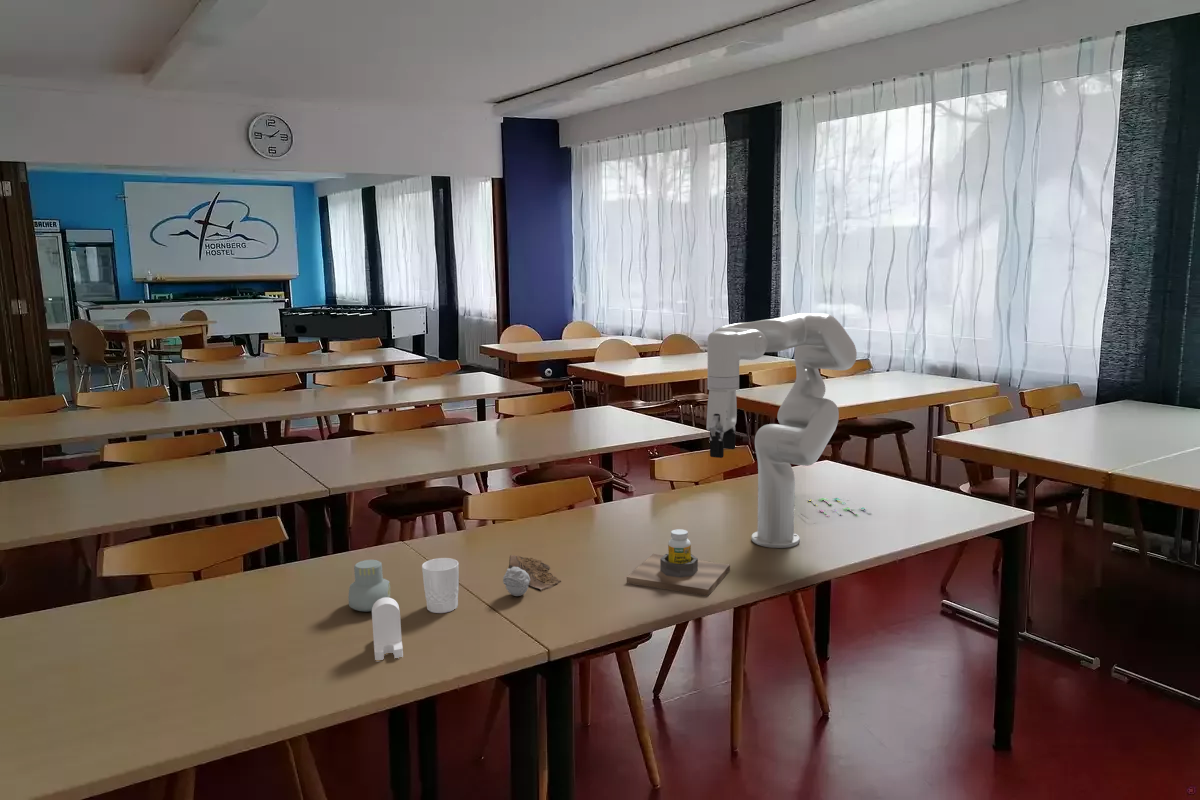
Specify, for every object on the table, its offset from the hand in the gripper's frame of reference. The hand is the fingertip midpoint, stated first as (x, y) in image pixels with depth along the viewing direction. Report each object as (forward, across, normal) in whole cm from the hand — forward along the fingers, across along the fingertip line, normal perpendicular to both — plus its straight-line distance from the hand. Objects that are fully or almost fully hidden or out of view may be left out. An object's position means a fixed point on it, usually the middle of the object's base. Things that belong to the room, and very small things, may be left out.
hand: (722, 452), depth 205 cm
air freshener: (+29, +55, -64) cm, 89 cm away
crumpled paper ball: (+28, +37, -37) cm, 60 cm away
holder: (+28, +12, -7) cm, 32 cm away
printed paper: (+29, -60, +18) cm, 69 cm away
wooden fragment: (+29, +23, -42) cm, 56 cm away
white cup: (+28, +49, -49) cm, 75 cm away
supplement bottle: (+27, +12, -7) cm, 30 cm away
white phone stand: (+29, +70, -47) cm, 89 cm away
